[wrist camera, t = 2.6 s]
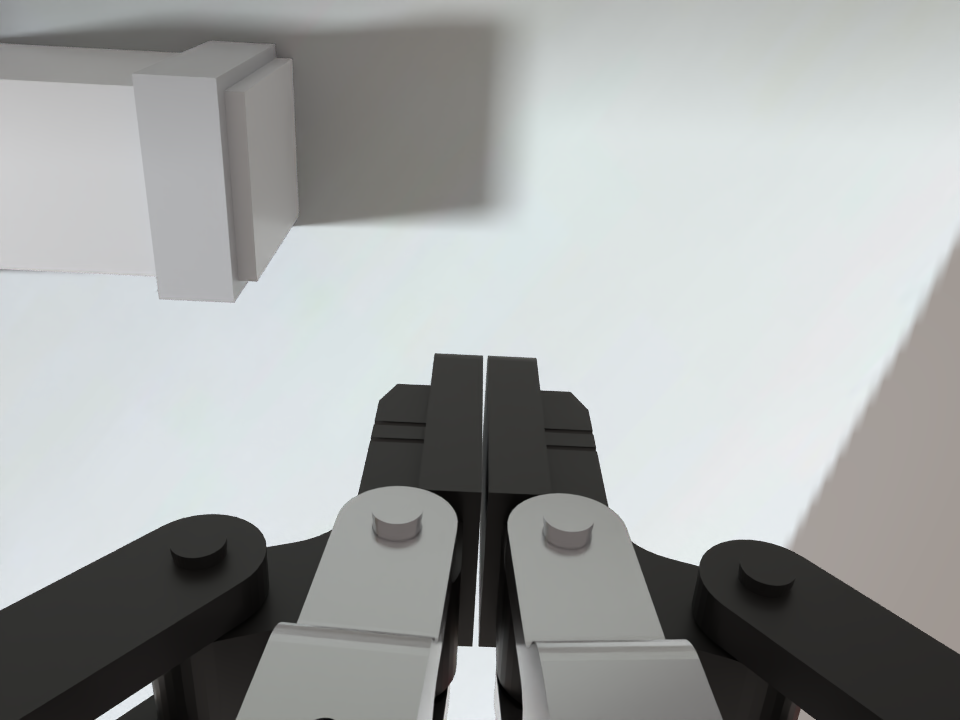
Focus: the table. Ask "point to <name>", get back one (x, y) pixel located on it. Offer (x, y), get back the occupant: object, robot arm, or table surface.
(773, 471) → the table surface
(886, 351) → the table surface
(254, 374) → the table surface
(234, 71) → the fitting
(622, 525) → the robot arm
